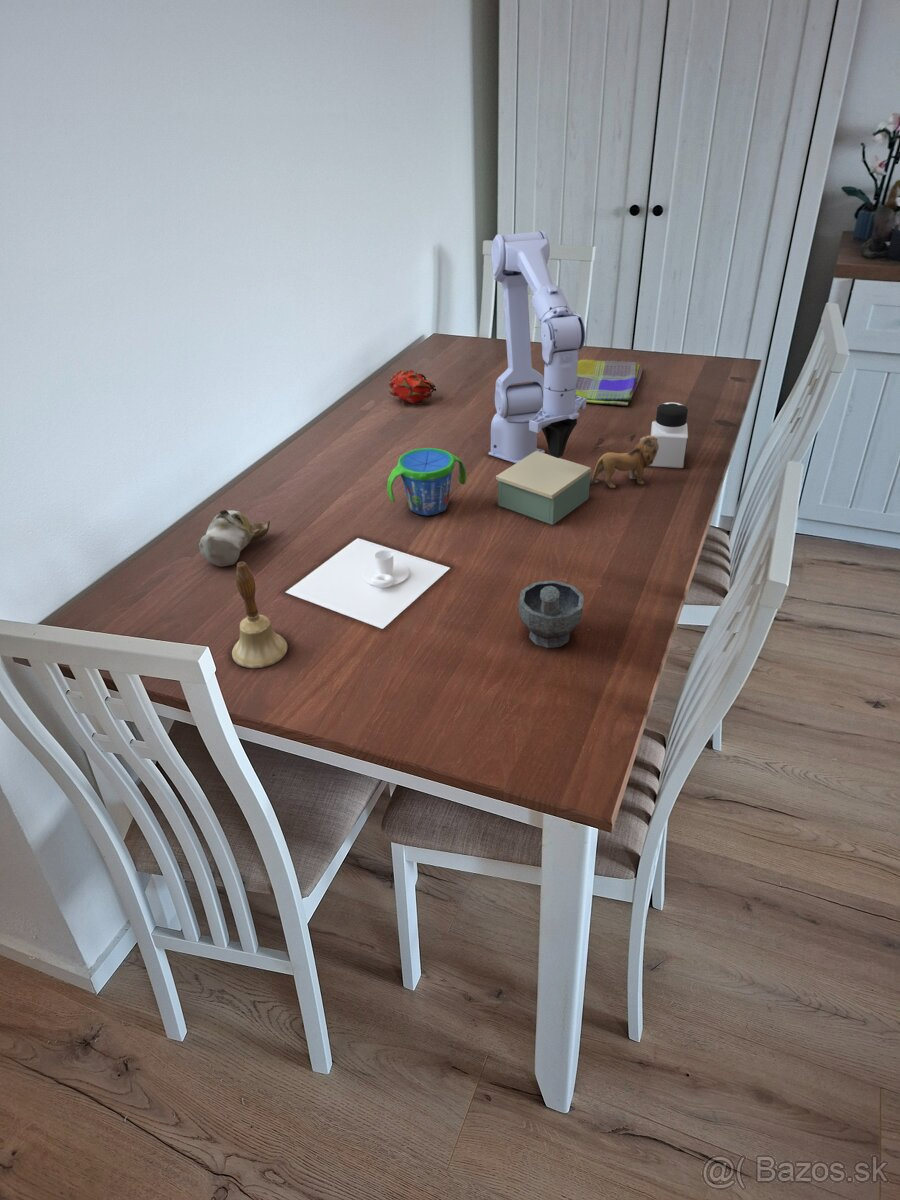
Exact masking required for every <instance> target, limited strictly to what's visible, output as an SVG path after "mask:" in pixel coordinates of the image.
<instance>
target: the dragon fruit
mask: <svg viewBox="0 0 900 1200" xmlns="http://www.w3.org/2000/svg"><path fill="white" fill-rule="evenodd" d="M389 379H390V381H389V382H388V387H389V388H390V389H389V391H388V392H389V394H390V395H392V396H393V397H397V398H398V399H399V400H400V401H401V403H402V405H406V403H407V402H408V403H412V404H415V405H417V406H418V405H419V406H421V405H424V404H426V403H427V402H426V401H423V400H425V399H428V398H432V397H433V392H434V391H435V392H437V388H436V387H437V386H436V385H435V384H434V382H432V381H431V380H428V379H427V377H426V375H425V374H423V373H418V372H417V371H416V372H415V370H413V369H409V370H405V369H399V370H398V371H396V372H393V375H392V376H391V377H390V378H389Z"/></svg>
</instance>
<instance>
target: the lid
mask: <svg viewBox="0 0 900 1200" xmlns="http://www.w3.org/2000/svg"><path fill="white" fill-rule="evenodd" d="M591 471H592V468H591V467H590V466H586V465H583V464H581V463H577V462H573V461H570V460H567V459H564V458H561V457H560V458H556V457H553V456H550V454H548V453H542V452H538V451H535V452H533V453H532V454H530V455H528V456H527V457H525V458H524V459H522V460H521V461H519V462H517V463H513V465H511V466H509V467H508V468H506V469H505V470H503V471H501V472H499V474H497V475H495V480H496V481H497V482H498V481H501V482H504V483H507V484H510V485H512V486H515V487H518V488H521V489H524V490H527V491H530V492H533V493H536V494H539V495H542V496H545V497H548V498H551V499H552V498H554V497H555V496H557V495H558V494H559V493H561V492H562V491H564V490H565V489H567V488H568V487H569V486H571V485H572V484H574V483H575V482H576V481H578V480H579V479H581V478H582V477H583V476H585V475H586V474H588V473H589V472H591ZM591 473H592V472H591Z"/></svg>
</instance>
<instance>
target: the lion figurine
mask: <svg viewBox="0 0 900 1200" xmlns="http://www.w3.org/2000/svg"><path fill="white" fill-rule="evenodd" d="M658 448H659V445H658V442H657V438H655V437H654V436H651V434H647V435H645V436H642V437H641V438H639V442H638V444H636V445H635V446H634V448H633V449H632V450H631V451H629V452H623V453H617V452H612V451H611V452H605V453H603V454H602V455H601V456H600V457H599V458H598V460H597V462H596V465H595V467H594V469H593V472H592V477H591V480H590V486H589V487H592V486H593V485H594V484H597V483H599V479H598V478H597V477H598V476H599V475H600V474H601V473H603V472H605V479H604V482H605V483H606V484H607V486H608V487H609V488H610V489H616V484H615V483H612V477H613V476H614V473H615V469H616V470H618V471H621V472H629V476H628V477H629V478H630V479H631V480H635V479H636V482H637V484H638V485H644V484H645V481H644V480H643V479H642V478H643V475H644V473H645V469H646V468H648V467H651V466H650V465H651V464H652V463H653V461H654V459H655V456H656V454H657V451H658ZM635 472H636V474H635Z"/></svg>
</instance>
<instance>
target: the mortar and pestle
mask: <svg viewBox="0 0 900 1200" xmlns="http://www.w3.org/2000/svg"><path fill="white" fill-rule="evenodd" d="M584 599H585V595H584V594H583V593H582V592H581V591H580V590H579V589H578V588H577V587H576V586H575V585H573V584H569V583H566V582H563V581H562V582H561V581H558V580H555V579H553V580H545V581H535V582H533V583H531V584H529V585H528V586H526V587H524V588H523V589H521V590H520V596H519V599H518V613H519V614H518V615H519V619H520V620H521V621H522V623H523V624H524V625H525V627H526V628H527V629H528V630H529V636H528V637H529V639H530V640H531V641H532V642H533V643H534V644H535V645H536V646H539V647H543V648H547V649H553V648H561V647H562V646H564V645H565V644H567V643H568V642H569V641H570V633H571V632H572V631H574V630H575V629H577V627H578V626H579V624H580V623H581V620H582V618H583V611H584Z"/></svg>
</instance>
